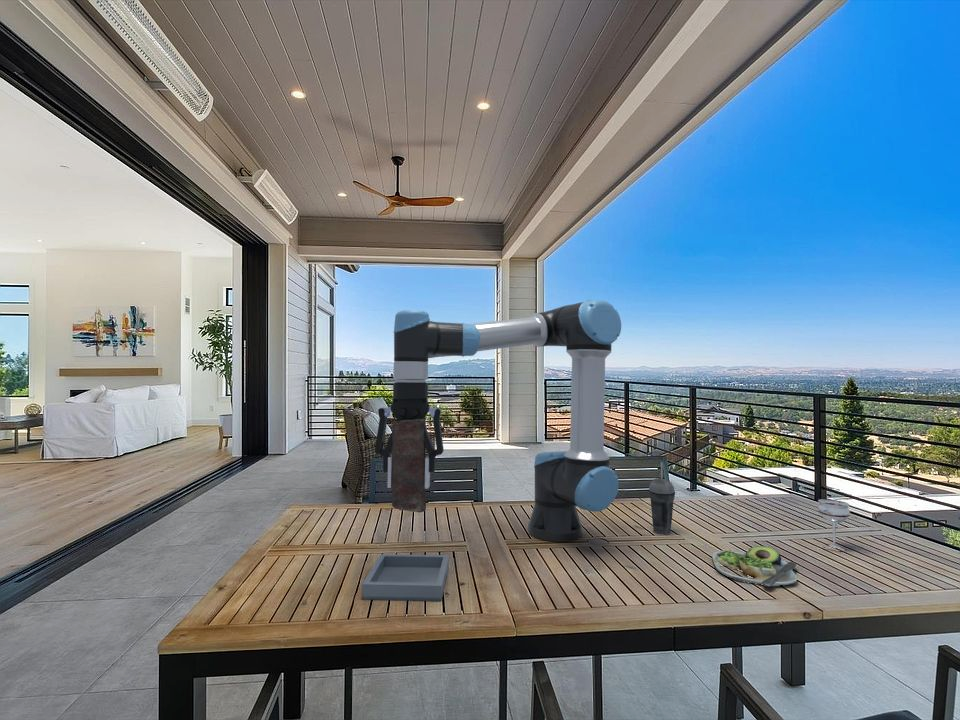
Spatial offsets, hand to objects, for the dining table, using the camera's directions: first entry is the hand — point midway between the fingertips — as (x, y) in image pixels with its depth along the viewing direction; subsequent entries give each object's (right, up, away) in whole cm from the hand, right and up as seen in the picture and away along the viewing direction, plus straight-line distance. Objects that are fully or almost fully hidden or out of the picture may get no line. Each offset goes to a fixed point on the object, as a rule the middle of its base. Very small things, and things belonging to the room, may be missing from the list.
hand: (408, 486), depth 103 cm
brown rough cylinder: (0, -5, 0) cm, 5 cm away
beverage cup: (+68, -22, +34) cm, 79 cm away
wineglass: (+109, -22, +22) cm, 113 cm away
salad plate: (+79, -22, +7) cm, 83 cm away
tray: (0, -21, -1) cm, 21 cm away
